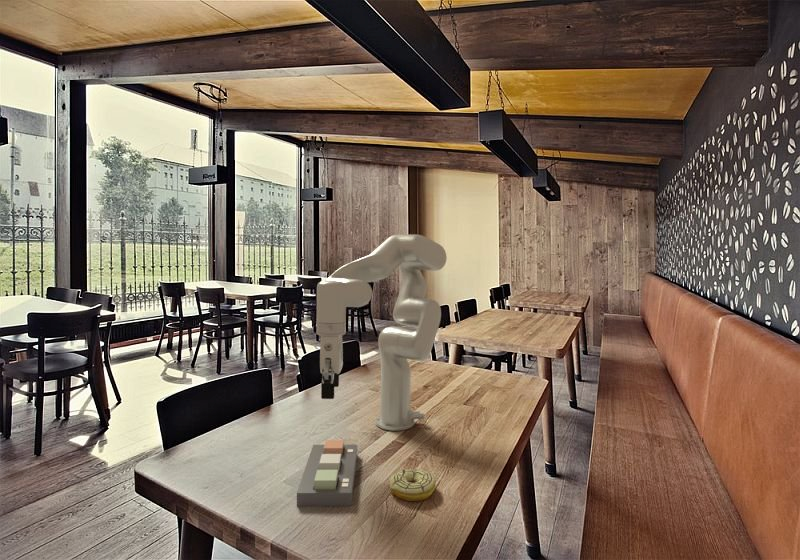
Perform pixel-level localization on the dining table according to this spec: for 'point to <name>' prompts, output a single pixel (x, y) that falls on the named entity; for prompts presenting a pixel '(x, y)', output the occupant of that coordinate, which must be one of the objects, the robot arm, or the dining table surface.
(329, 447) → the terracotta key
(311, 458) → the keypad
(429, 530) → the dining table surface
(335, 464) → the grey key
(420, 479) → the decorated donut
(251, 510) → the dining table surface
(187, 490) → the dining table surface
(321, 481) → the sage key
